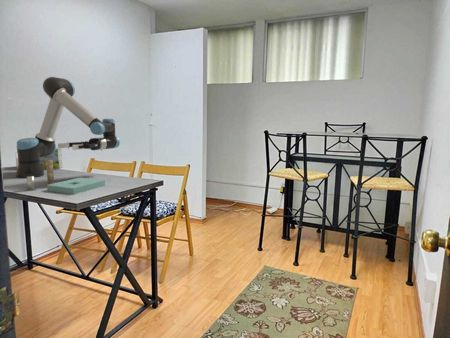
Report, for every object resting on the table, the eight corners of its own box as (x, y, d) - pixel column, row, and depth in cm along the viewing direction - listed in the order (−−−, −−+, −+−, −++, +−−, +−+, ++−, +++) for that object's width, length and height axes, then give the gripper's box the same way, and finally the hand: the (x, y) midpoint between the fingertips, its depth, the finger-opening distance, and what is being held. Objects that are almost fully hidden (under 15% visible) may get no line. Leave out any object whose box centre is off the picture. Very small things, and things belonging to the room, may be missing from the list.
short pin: (26, 190, 165) (25, 176, 164) (32, 188, 168) (31, 175, 167) (30, 190, 164) (29, 177, 163) (36, 189, 167) (35, 176, 165)
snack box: (29, 168, 226) (27, 147, 223) (34, 167, 232) (32, 146, 229) (59, 169, 226) (57, 148, 223) (63, 167, 232) (61, 147, 229)
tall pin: (46, 185, 176) (44, 160, 174) (51, 184, 179) (49, 159, 176) (50, 186, 175) (48, 160, 172) (55, 184, 178) (53, 160, 175)
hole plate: (47, 190, 164) (47, 185, 164) (80, 182, 185) (80, 177, 184) (74, 194, 158) (73, 188, 158) (105, 185, 179) (104, 180, 178)
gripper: (110, 151, 194) (79, 154, 176) (85, 148, 206) (53, 151, 188) (110, 138, 193) (78, 141, 175) (84, 137, 205) (52, 139, 187)
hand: (65, 146), depth 181 cm, fingers open, 13 cm apart
